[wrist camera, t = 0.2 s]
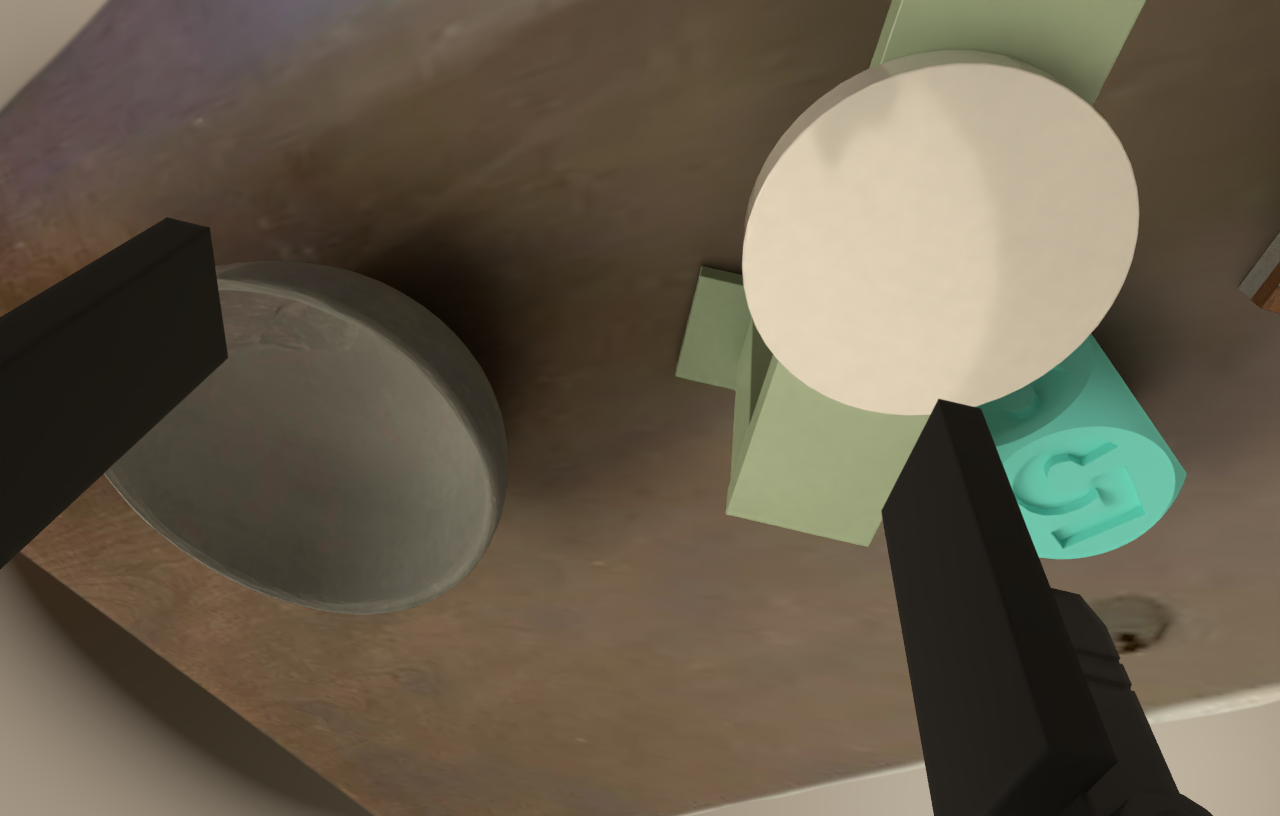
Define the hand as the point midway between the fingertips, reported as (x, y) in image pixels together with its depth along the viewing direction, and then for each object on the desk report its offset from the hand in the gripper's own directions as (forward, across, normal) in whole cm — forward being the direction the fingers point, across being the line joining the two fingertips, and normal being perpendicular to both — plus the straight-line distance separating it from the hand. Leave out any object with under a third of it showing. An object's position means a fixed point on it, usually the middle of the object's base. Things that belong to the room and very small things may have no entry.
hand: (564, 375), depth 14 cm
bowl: (+24, -14, -20) cm, 34 cm away
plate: (+12, +9, 0) cm, 15 cm away
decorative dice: (+24, +21, -11) cm, 34 cm away
